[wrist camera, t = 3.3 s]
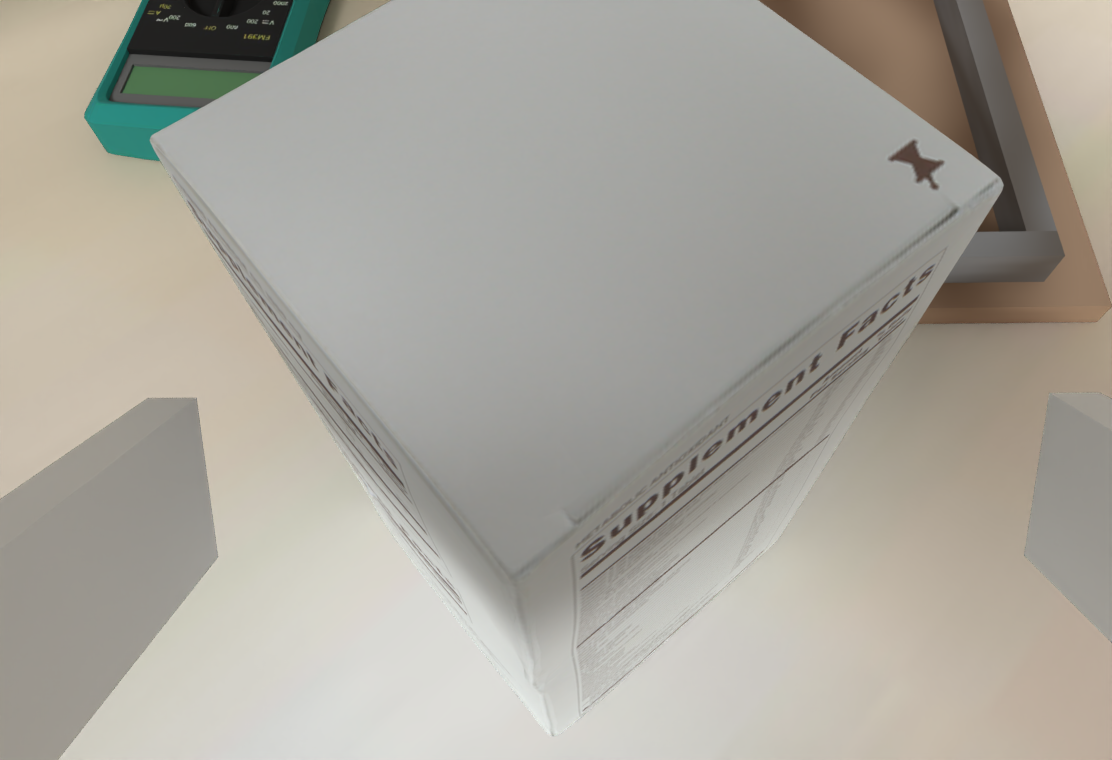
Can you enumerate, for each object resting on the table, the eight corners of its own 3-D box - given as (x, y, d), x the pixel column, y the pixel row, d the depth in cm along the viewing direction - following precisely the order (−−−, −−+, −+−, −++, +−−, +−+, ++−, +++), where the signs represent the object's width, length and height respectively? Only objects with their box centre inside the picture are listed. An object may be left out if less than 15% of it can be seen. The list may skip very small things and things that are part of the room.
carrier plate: (514, 328, 31) (510, 288, 29) (523, -22, 40) (520, -74, 37) (1096, 321, 31) (1136, 280, 29) (980, -30, 39) (1004, -83, 37)
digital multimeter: (362, -67, 42) (348, -128, 39) (286, 178, 35) (262, 124, 32) (211, -73, 43) (186, -134, 40) (106, 167, 36) (69, 113, 33)
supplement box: (593, 338, 31) (606, -140, 16) (789, 535, 28) (1040, 161, 13) (362, 508, 28) (121, 124, 13) (548, 751, 25) (504, 598, 10)
